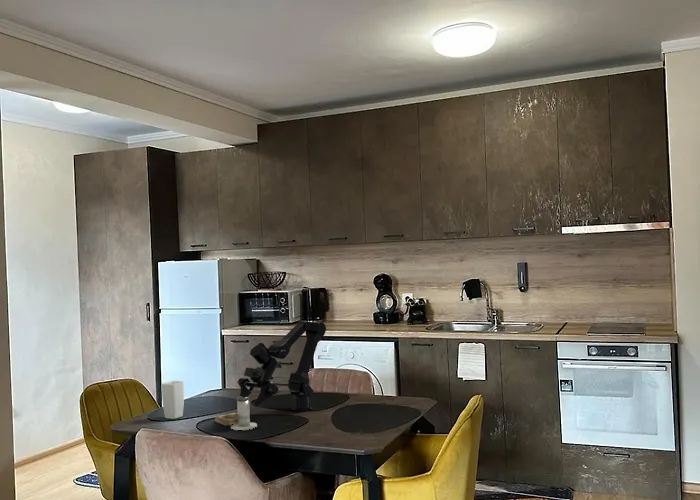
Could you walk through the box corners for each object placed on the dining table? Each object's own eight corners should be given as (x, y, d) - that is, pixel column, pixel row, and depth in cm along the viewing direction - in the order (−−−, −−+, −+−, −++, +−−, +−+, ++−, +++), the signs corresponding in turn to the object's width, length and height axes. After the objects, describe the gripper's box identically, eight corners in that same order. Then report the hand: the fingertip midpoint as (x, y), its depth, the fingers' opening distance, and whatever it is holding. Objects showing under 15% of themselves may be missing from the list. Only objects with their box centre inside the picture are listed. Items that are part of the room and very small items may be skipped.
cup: (186, 416, 271) (185, 381, 272) (173, 420, 265) (172, 384, 265) (174, 415, 275) (172, 380, 275) (161, 419, 269) (159, 383, 269)
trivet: (249, 422, 257) (249, 421, 257) (261, 427, 249) (261, 425, 249) (226, 427, 251) (226, 425, 251) (238, 432, 243) (238, 430, 243)
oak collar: (237, 417, 267) (237, 412, 267) (249, 421, 259) (249, 416, 259) (215, 421, 261) (215, 416, 261) (226, 425, 253) (226, 420, 253)
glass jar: (243, 423, 253) (242, 395, 253) (253, 424, 251) (251, 396, 251) (235, 426, 249) (234, 397, 249) (244, 427, 246) (243, 398, 247)
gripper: (239, 357, 262) (219, 390, 253) (271, 360, 250) (252, 394, 241) (255, 373, 268) (236, 406, 259) (287, 377, 256) (268, 411, 247)
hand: (247, 404), depth 252 cm, fingers open, 9 cm apart
